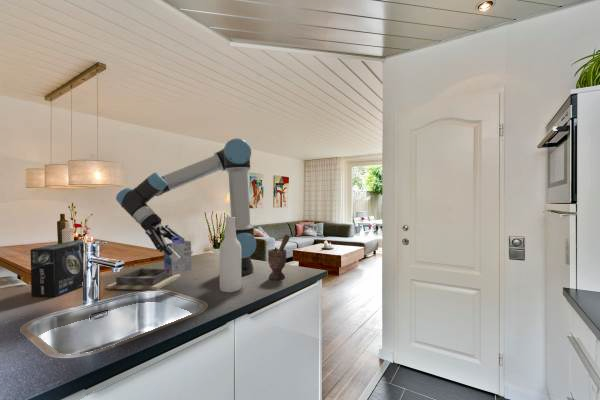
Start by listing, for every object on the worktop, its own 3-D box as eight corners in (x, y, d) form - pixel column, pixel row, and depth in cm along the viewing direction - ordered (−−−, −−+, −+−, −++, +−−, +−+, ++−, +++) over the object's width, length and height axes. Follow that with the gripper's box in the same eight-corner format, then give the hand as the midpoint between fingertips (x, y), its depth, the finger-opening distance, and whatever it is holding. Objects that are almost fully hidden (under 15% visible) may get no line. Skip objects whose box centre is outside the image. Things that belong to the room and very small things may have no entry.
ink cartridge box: (183, 268, 127) (183, 235, 127) (192, 270, 124) (192, 235, 124) (163, 273, 118) (162, 237, 118) (171, 275, 116) (171, 238, 115)
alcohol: (227, 285, 127) (227, 216, 127) (245, 287, 124) (245, 216, 124) (215, 291, 119) (214, 217, 119) (233, 293, 116) (233, 218, 116)
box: (54, 298, 111) (54, 248, 111) (30, 297, 112) (29, 248, 112) (99, 280, 135) (99, 239, 134) (79, 280, 135) (78, 239, 135)
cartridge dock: (180, 276, 141) (180, 268, 141) (157, 289, 121) (157, 279, 121) (137, 275, 143) (137, 267, 143) (106, 288, 123) (106, 278, 123)
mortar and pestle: (276, 273, 147) (276, 233, 147) (292, 275, 144) (291, 234, 144) (264, 279, 137) (264, 236, 136) (281, 281, 133) (281, 237, 133)
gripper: (157, 223, 134) (191, 257, 133) (122, 228, 111) (163, 270, 110) (168, 211, 133) (202, 245, 132) (136, 214, 110) (176, 256, 109)
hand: (184, 257), depth 121 cm, fingers closed on ink cartridge box, 11 cm apart
